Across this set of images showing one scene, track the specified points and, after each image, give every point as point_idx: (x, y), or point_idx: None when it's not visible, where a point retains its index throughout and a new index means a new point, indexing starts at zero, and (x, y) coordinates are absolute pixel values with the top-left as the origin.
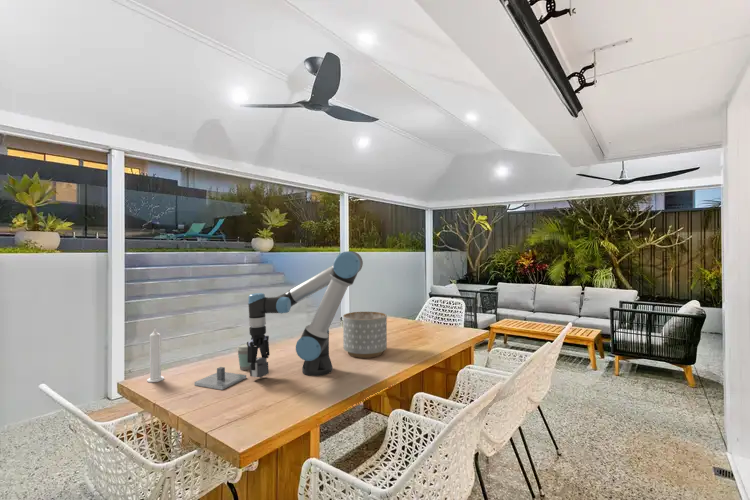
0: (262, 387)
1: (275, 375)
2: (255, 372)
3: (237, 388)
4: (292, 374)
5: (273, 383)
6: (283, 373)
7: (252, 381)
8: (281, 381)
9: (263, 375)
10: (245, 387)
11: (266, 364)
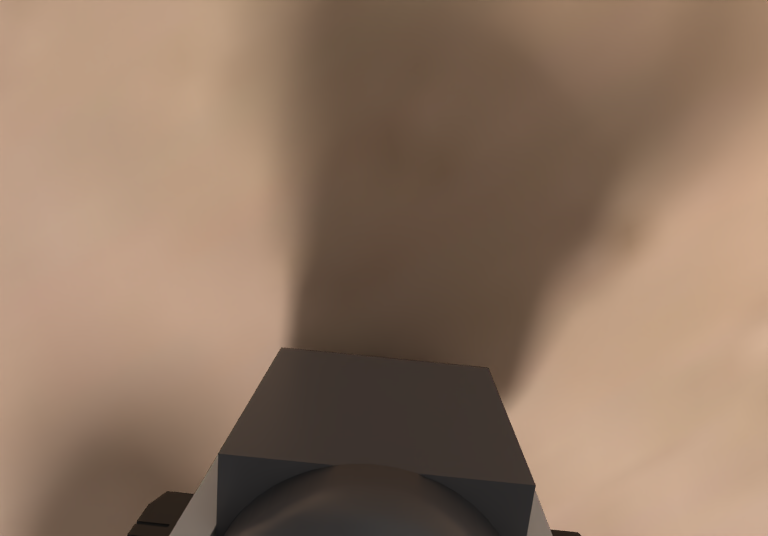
0: (676, 204)
1: (175, 281)
2: None
3: (764, 504)
4: (44, 42)
5: (489, 131)
6: (58, 209)
7: None
8: (380, 53)
9: (415, 364)
10: (713, 429)
11: (295, 438)
